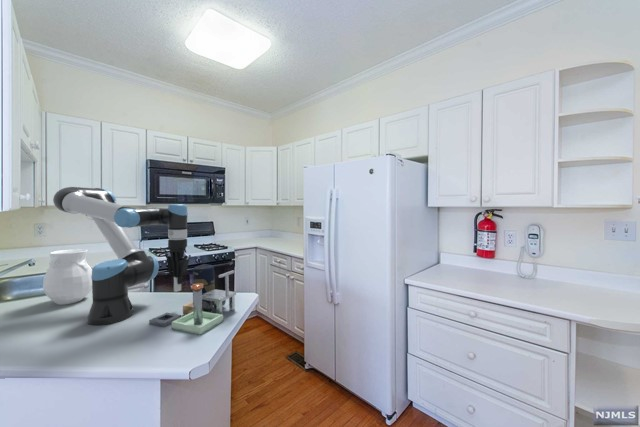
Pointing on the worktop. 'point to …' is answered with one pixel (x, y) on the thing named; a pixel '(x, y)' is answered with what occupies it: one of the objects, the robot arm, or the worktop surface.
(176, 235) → the robot arm
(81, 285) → the white vase
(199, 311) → the pin
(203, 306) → the trolley
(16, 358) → the worktop surface
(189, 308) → the block
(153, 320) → the collar
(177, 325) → the tray
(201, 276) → the canister
